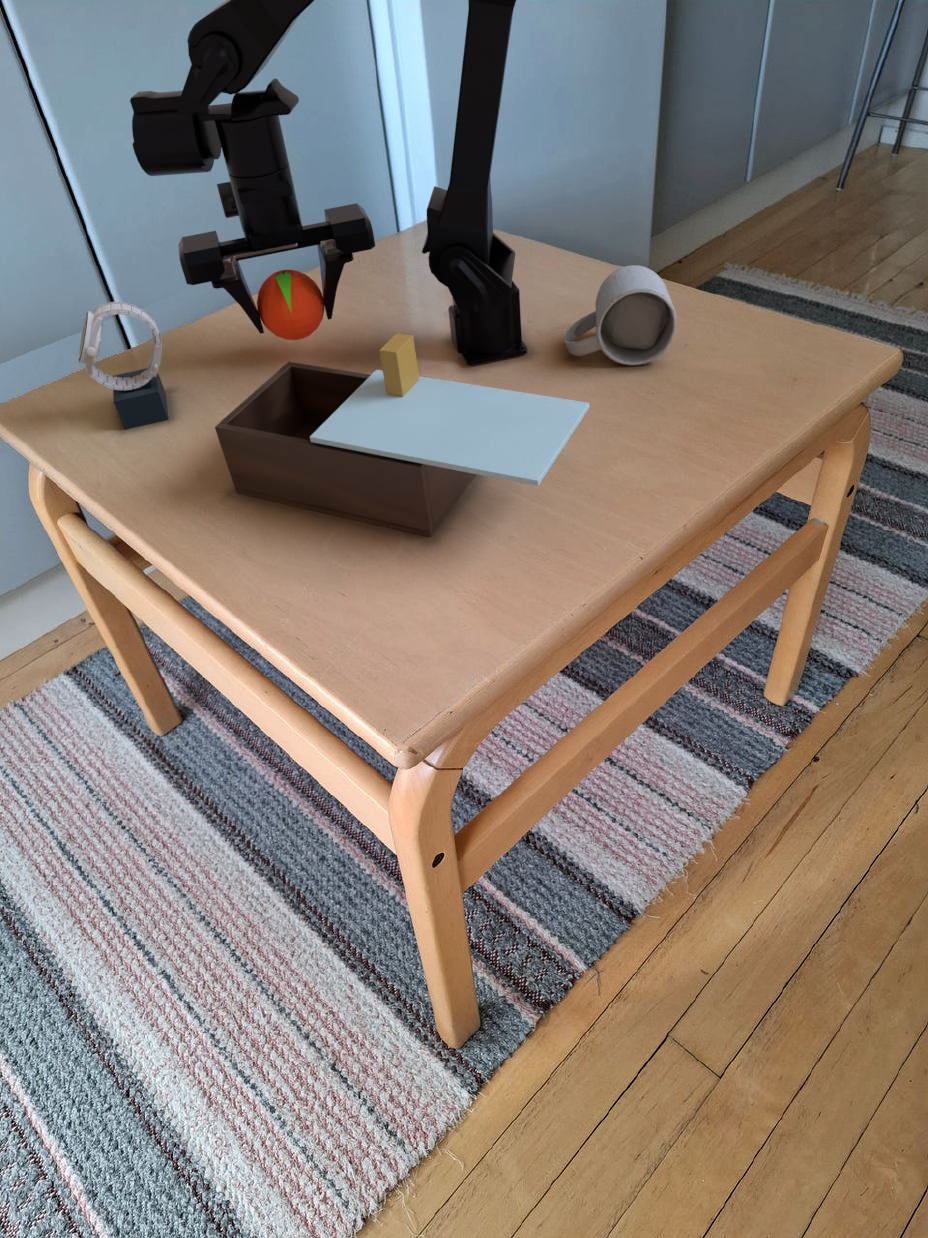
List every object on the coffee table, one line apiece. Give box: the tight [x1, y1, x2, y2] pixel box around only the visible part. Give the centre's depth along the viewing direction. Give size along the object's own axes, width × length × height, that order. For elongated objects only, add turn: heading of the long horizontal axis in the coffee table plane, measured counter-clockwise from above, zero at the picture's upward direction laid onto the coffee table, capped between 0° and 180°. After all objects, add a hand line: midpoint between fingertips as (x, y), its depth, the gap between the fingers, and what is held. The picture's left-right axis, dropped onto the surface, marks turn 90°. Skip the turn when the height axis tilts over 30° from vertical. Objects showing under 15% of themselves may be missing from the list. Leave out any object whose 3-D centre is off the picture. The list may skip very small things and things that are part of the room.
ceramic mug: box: [563, 264, 678, 366], centre depth 90 cm, size 11×8×8 cm
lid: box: [310, 333, 590, 487], centre depth 70 cm, size 11×19×4 cm, turn 65°
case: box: [214, 361, 478, 538], centre depth 78 cm, size 11×19×7 cm, turn 65°
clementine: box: [256, 269, 325, 341], centre depth 94 cm, size 8×7×7 cm
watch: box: [78, 301, 169, 430], centre depth 88 cm, size 6×8×11 cm
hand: (295, 324), depth 95 cm, fingers closed on clementine, 7 cm apart
